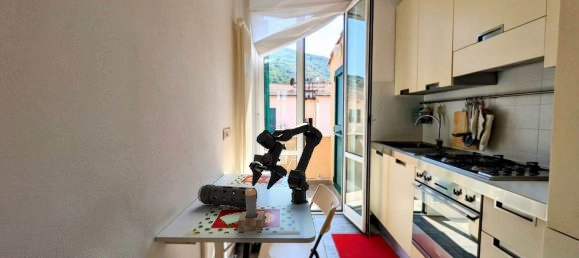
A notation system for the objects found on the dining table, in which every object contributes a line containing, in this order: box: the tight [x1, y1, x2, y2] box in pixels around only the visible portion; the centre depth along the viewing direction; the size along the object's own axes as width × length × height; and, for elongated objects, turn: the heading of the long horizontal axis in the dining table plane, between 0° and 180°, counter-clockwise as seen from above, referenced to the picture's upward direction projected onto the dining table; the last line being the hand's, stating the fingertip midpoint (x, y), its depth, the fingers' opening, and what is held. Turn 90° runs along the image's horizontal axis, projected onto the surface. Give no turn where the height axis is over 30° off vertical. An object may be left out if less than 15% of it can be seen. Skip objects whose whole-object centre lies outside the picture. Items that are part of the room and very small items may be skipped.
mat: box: [219, 212, 242, 226], centre depth 110 cm, size 9×9×1 cm
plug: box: [245, 188, 257, 218], centre depth 102 cm, size 4×4×14 cm
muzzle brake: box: [197, 184, 258, 209], centre depth 126 cm, size 10×28×10 cm, turn 71°
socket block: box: [237, 210, 266, 232], centre depth 102 cm, size 9×9×4 cm
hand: (260, 187), depth 109 cm, fingers open, 9 cm apart
